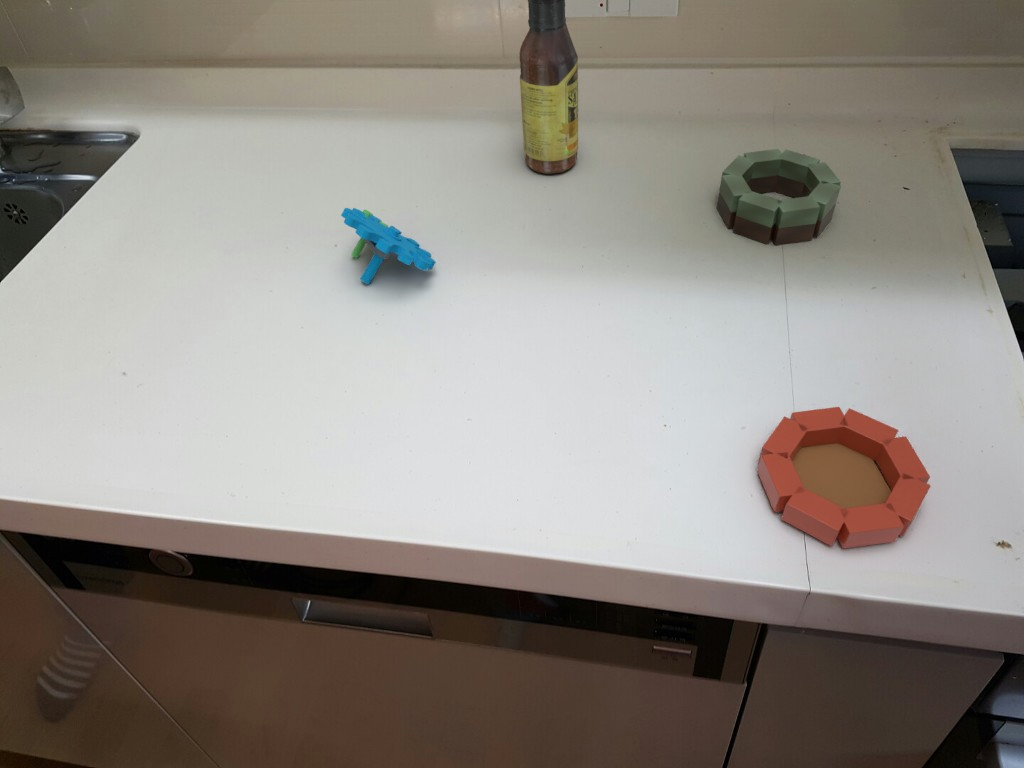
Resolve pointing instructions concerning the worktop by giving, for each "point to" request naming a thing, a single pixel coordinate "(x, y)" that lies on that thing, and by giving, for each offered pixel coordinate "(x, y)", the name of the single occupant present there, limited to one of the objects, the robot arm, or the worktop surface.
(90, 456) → the worktop surface
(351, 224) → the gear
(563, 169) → the sauce bottle
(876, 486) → the cork mat
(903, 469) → the terracotta ring
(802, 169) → the ring stack
